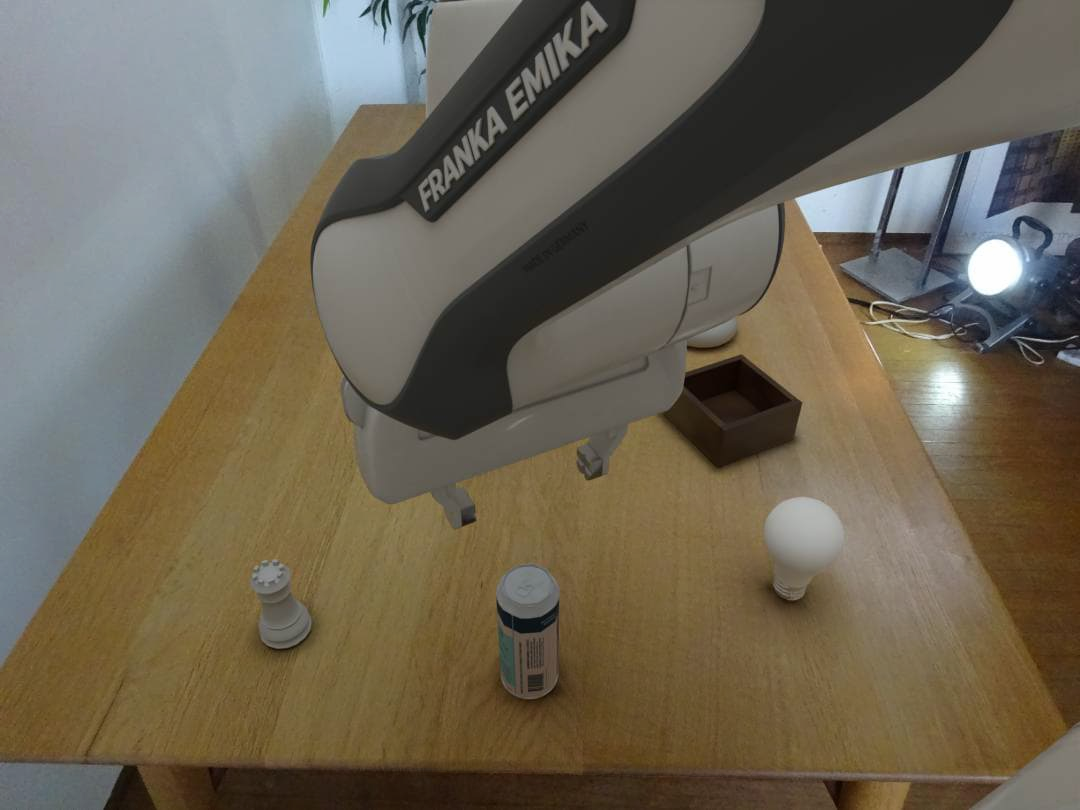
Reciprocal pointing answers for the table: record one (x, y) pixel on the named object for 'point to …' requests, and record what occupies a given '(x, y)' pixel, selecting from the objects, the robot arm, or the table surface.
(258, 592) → the rook chess piece
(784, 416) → the holder
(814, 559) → the light bulb
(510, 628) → the beer can
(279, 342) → the table surface
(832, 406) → the table surface
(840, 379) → the table surface
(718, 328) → the donut
